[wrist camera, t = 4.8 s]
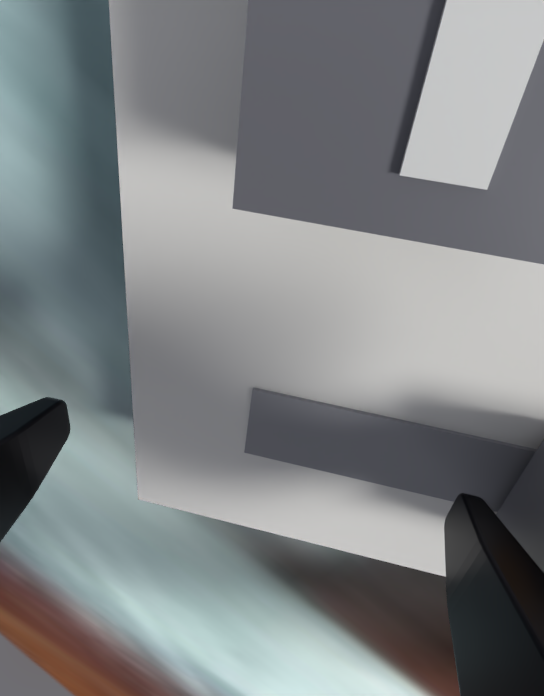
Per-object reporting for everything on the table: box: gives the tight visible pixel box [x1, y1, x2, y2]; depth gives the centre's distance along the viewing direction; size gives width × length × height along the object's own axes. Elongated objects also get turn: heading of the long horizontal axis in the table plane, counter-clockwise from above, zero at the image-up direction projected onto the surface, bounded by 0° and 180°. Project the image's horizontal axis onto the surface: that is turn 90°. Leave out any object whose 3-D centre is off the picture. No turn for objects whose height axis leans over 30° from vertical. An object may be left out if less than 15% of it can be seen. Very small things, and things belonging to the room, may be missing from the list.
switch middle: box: [232, 0, 544, 264], centre depth 5 cm, size 4×4×3 cm
